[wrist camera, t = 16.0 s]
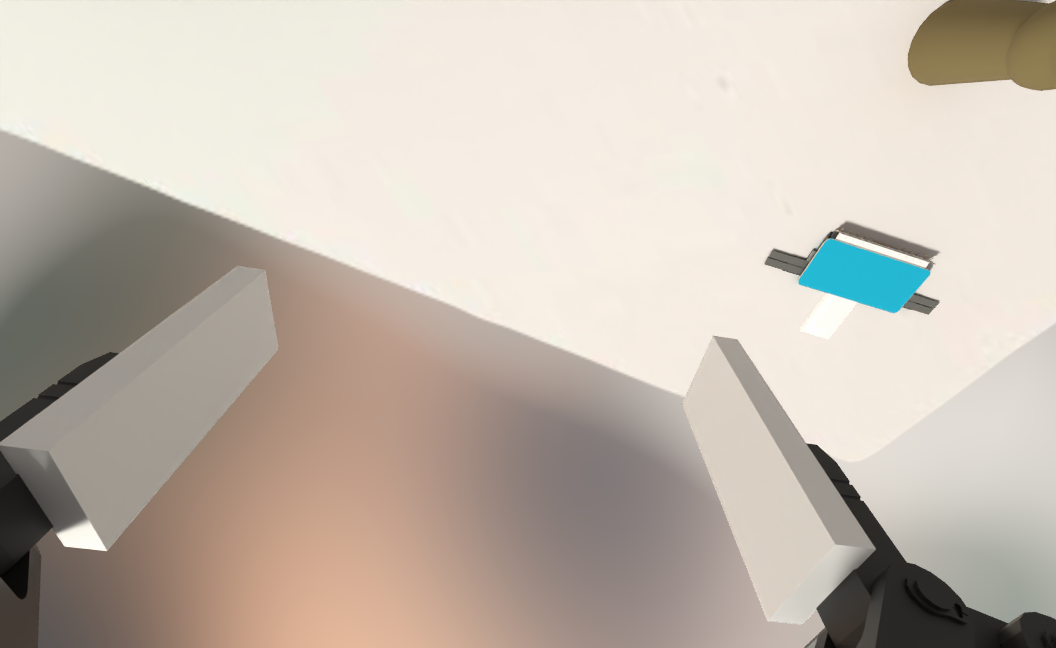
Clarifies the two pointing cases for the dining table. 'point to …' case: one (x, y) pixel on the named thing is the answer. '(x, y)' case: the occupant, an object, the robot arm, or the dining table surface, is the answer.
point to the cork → (987, 44)
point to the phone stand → (856, 279)
